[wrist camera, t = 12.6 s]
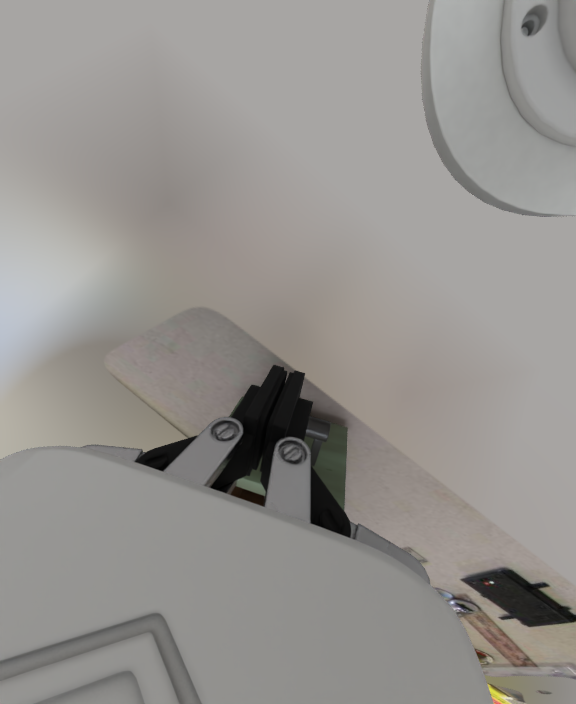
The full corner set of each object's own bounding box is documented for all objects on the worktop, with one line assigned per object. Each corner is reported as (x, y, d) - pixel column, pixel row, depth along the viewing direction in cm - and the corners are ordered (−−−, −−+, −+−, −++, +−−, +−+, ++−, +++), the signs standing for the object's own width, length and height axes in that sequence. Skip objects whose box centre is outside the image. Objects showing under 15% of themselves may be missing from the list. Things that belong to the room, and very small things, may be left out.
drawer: (245, 359, 22) (196, 419, 15) (361, 391, 21) (364, 473, 14) (235, 479, 31) (201, 551, 24) (316, 507, 29) (304, 591, 23)
